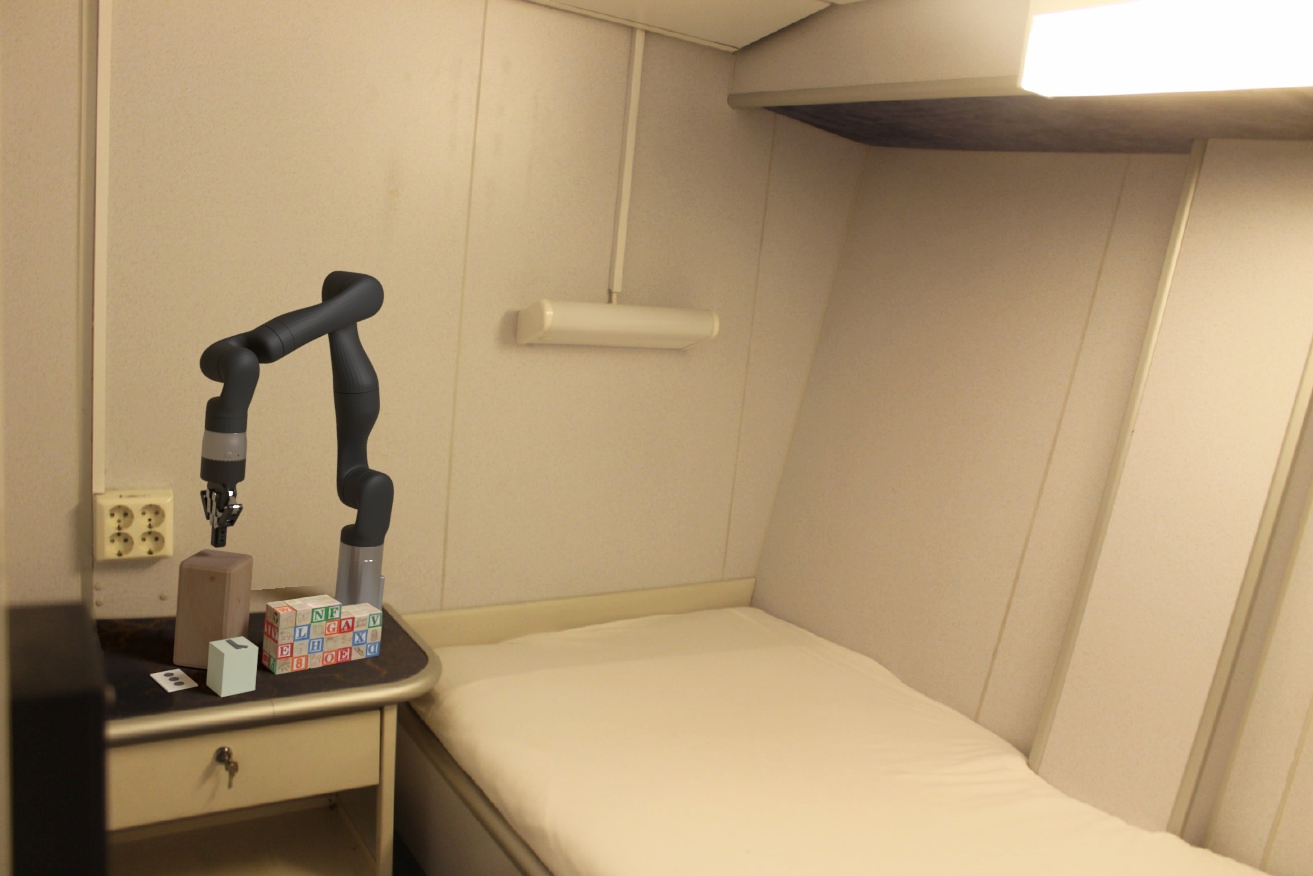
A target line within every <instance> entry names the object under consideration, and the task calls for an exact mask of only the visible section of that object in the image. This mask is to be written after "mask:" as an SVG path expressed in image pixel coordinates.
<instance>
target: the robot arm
mask: <svg viewBox="0 0 1313 876" xmlns="http://www.w3.org/2000/svg"><path fill="white" fill-rule="evenodd" d="M384 300H385V291H384V288H383V285H382V284H381V282H380V280H379V279H377V278H376V277H374V276H372V275H370V274H366V273H363V272H362V273H361V272H354V271H346V270H333V271H331V272H330V273H328V274H327V275H326V277H325V278H324V280H323V283H322V286H321V302H320V303H317V304H314V305H310V306H307V307H302V308H299V309H295V310H292V311H289V312H285V313H282V314H280V315H277V316H275V317H274V318H272V319H269V320H268V321H266V322H264V323H262V324H260V325H258V326H256V327H255V328H254V329H251V330H248V331H245V332H240V333H237V334H235V335H231V336H228V337H225V338H222V339H218V340H217V341H215V342H213V343H212V344H210V345H208V347H206V348H205V349H204V351H203V352H202V354H201V356H200V358H199V368H200V372H201V373H202V374H203V376H204V377H206V378H207V379H209V380H211V381H212V382H216V383H220V384H223V385H222V389H221V393H220V395H219V396H212V397H210V398H209V399H208V400H207V401H206V406H205V416H204V431H203V435H202V439H201V440H202V441H201V452H200V453H201V456H200V467H199V468H200V470H199V471H200V472H199V478H200V479H201V480H202V481H204V482H206V489H202V490H200V491H199V492H200V493H199V496H200V500H201V504H202V508H203V512H204V516H205V519H206V521H209V526H210V527H211V534H210V546H212V547H214V548H216V549H217V548H219V549H220V548H225V547H226V545H227V534H228V528H230V527H234V526H235V524H236V522H237V520H238V519H239V517H240V515H241V513H242V511H243V509H244V506H243V504H242V503H238V502H237V497H238V491H237V485H238V484H239V483H241V482H243V481H244V480H245V479H246V470H247V469H246V467H247V453H248V452H247V451H248V437H247V432H248V416H249V415H248V414H249V412H248V411H249V408H250V405H251V403H252V401H253V398H254V394H255V393H256V389H257V385H258V382H259V380H260V374H261V366H260V365H263V364H265V365H268V364H272V363H273V364H274V363H276V362H277V361H279V360H281V359H282V358H284V357H286V356H288V355H290V354H291V353H293V352H295V351H296V350H298V349H300V348H301V347H304V346H305V345H308V344H309V343H311V342H313V341H315V340H318V339H319V338H321V337H323V336H326V335H327V338H328V344H329V353H330V364H331V371H332V373H331V374H332V391H333V392H332V393H333V404H334V412H335V414H334V415H335V426H336V427H335V428H336V446H337V449H336V451H337V453H336V458H337V459H336V481H335V482H336V484H335V485H336V492H337V496H338V499H339V501H340V503H342V504H343V505H344V506H346V507H349V508H351V509H354V510H357V512H356V515H355V516H356V517H355V521H354V523H350V524H346V525H344V526H343V527H342V528H341V530H340V536H339V537H340V538H339V546H338V547H339V549H338V557H337V558H338V560H337V572H336V580H335V582H336V583H335V591H334V592H335V595H334V599H335V600H337V601H338V602H340V603H341V604H342V606H348V605H356V604H363V603H369V604H370V605H372V606H373V607H375V608H377V609H378V610H380V611H382V610H383V609H382V608H383V599H384V589H385V588H384V587H385V579H386V578H385V576H384V575H383V574H382V568H383V559H384V558H383V557H384V547H385V546H384V545H385V537H386V535H387V533H388V531H389V529H390V525H391V519H392V518H391V517H392V511H393V506H394V498H395V497H394V496H395V485H394V482H393V480H392V478H391V477H390V476H389V474H387V473H384V472H382V471H379V470H375V469H373V468H370V466H369V462H368V461H369V460H368V442H369V441H368V440H369V437H370V434H371V432H372V430H373V429H374V427H375V424H376V422H377V420H378V417H379V414H380V410H381V400H380V399H381V396H380V384H379V378H378V375H377V372H376V370H375V367H374V365H373V363H372V362H371V360H370V358H369V356H368V354H367V353H366V351H365V348H364V347H363V345H362V341H361V338H360V336H359V335H360V334H359V330H358V323H359V322H362V321H365V320H367V319H370V318H373V317H374V316H375V315H377V313H379V312H380V310H381V309H382V306H383V304H384ZM382 612H383V611H382Z"/></svg>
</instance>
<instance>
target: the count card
mask: <svg viewBox="0 0 1313 876" xmlns="http://www.w3.org/2000/svg"><path fill="white" fill-rule="evenodd" d="M149 677H151V678H152V679H153V680H154V681H155V682H156V683H158V684H159V685H160V687H162V688H163V689H164V690H165V691H166V692H167V693H172V692H176V691H181V690H185V689H192V688H195V687H198V686H199V684H198V683H197V682H195V681H194V680H193V679H192V678H191V677H190V676H188V675H187V674H186V673H185V672H184V671H183V670H182V669H180V668H176V669H169V670H165V671H160V672H156V673H150V674H149Z"/></svg>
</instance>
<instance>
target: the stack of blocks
mask: <svg viewBox="0 0 1313 876" xmlns="http://www.w3.org/2000/svg"><path fill="white" fill-rule="evenodd" d="M263 621H264V622H263V638H262V639H263V642H262V643H263V644H262V656H261V657H262V658H261V664H262V665H263V666H265V667H266V668H267V669H268V670H269V671H271V672H272V673H273V674H274V675H276V676H277V675H280V674H287V673H293V672H298V671H303V670H308V669H309V668H311V669H316V668H320V667H321V668H322V667H324V666H328V665H334V664H339V663H344V662H350V661H356V660H361V659H366V658H373V657H377V656H380V647H381V639H382V625H383V611H380V610H378V609H377V608H375V607H373V606H372V605H370V604H369V603H363V604H356V605H348V606H342V604H341V603H340V602H338V601H337V600H335V598H333V597H332V596H330V595H328V594H320V595H314V596H313V595H312V596H306V597H299V598H293V599H292V598H291V599H286V600H279V601H270V602H266V604H265V618H264V620H263Z"/></svg>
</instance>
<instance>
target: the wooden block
mask: <svg viewBox="0 0 1313 876" xmlns="http://www.w3.org/2000/svg"><path fill="white" fill-rule="evenodd" d="M253 565H254V557H253V555H250V554H247V553H237V552H232V551H231V552H230V551H224V550H215V549H209V548H207V549H206V548H204V549H202V550H200V551H197V552H196V553H194V554H192V555H190V556H189V557H187V558H184V560H183V559H182V561H180V564H179V567H178V580H177V597H176V598H177V599H176V610H175V611H176V613H175V630H174V645H173V659H172V662H173V664H174V665H175V666H182V667H187V668H196V669H203V670H204V669H205V670H207V669H208V655H209V642H213V641H219V640H224V639H230V638H236V637H242V636H243V637H245V638H246V639H247V640H248V636H249V635H248V632H249V622H250V621H249V619H250V606H251V595H252V594H251V593H252V592H251V591H252V580H253V579H252V578H253V569H254V568H253Z"/></svg>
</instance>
